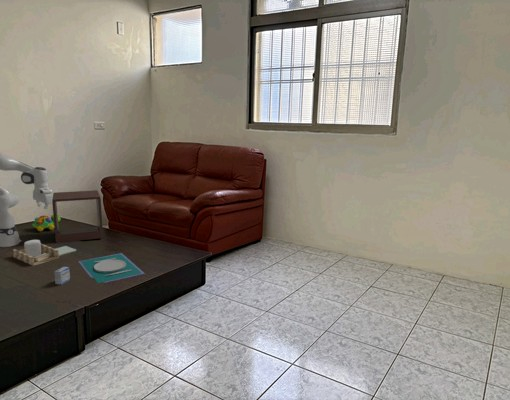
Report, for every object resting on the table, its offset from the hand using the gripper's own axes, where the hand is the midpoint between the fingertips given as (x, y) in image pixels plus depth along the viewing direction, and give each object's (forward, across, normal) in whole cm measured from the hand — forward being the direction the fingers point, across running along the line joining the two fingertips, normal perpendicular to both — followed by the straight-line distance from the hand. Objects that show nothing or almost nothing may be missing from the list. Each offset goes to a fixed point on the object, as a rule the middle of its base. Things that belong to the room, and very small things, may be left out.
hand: (42, 207), depth 280 cm
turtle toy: (+34, -49, +28) cm, 66 cm away
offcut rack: (+32, +15, -14) cm, 38 cm away
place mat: (+30, +70, +7) cm, 76 cm away
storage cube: (+32, -9, +34) cm, 48 cm away
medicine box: (+30, +67, -25) cm, 78 cm away
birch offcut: (+30, +22, -14) cm, 40 cm away
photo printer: (+32, +11, -14) cm, 37 cm away
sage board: (+31, +16, +4) cm, 35 cm away
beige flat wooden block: (+32, +23, -14) cm, 42 cm away
